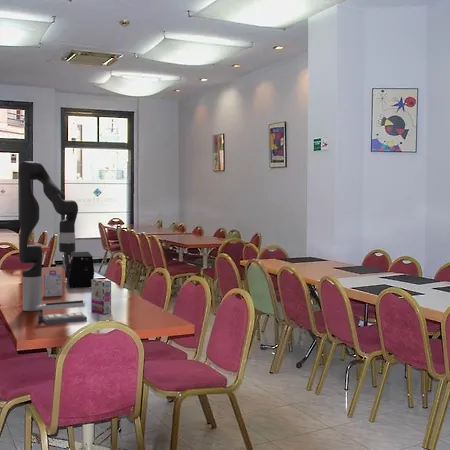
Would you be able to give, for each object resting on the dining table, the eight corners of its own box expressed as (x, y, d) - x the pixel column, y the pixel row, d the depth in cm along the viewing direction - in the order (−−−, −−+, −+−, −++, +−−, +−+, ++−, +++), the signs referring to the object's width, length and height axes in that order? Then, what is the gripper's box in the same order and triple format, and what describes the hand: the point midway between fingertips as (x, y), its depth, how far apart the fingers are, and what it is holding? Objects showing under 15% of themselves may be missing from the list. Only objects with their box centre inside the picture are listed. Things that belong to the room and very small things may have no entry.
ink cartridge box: (61, 294, 351) (61, 269, 350) (62, 295, 346) (62, 271, 345) (43, 295, 347) (43, 270, 346) (45, 296, 342) (44, 271, 341)
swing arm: (37, 310, 271) (37, 304, 271) (36, 309, 274) (36, 303, 274) (84, 306, 281) (84, 300, 281) (83, 305, 284) (83, 299, 283)
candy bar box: (111, 313, 295) (111, 280, 294) (103, 315, 291) (103, 281, 291) (99, 310, 303) (99, 278, 302) (90, 311, 299) (90, 279, 298)
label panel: (42, 319, 280) (42, 313, 280) (81, 316, 288) (81, 310, 288) (47, 324, 269) (47, 318, 269) (86, 321, 277) (86, 315, 277)
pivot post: (37, 322, 274) (37, 310, 274) (42, 321, 275) (42, 309, 275) (38, 323, 272) (38, 310, 272) (43, 322, 273) (42, 310, 273)
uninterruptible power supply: (90, 280, 408) (89, 251, 407) (94, 287, 376) (94, 256, 375) (65, 281, 403) (65, 252, 402) (67, 289, 371) (67, 257, 370)
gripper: (56, 241, 290) (57, 276, 290) (61, 243, 278) (62, 280, 278) (72, 240, 293) (72, 275, 294) (78, 242, 281) (78, 279, 282)
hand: (67, 277), depth 286 cm, fingers closed
